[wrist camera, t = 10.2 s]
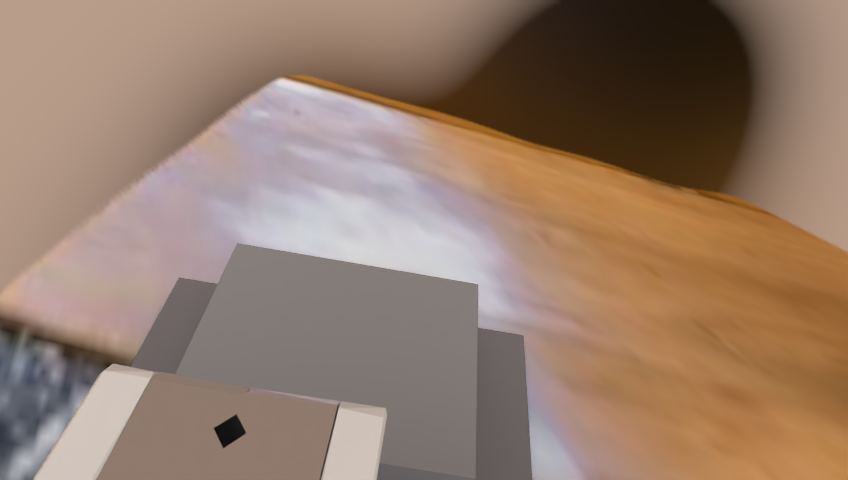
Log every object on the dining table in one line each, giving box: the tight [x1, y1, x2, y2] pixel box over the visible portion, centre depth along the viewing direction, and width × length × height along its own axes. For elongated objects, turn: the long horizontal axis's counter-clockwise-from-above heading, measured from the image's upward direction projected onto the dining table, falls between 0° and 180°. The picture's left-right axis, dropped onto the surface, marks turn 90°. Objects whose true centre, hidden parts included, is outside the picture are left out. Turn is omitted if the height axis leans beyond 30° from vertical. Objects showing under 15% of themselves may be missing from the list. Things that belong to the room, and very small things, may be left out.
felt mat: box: [130, 278, 532, 480], centre depth 34 cm, size 18×18×1 cm
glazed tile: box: [176, 243, 478, 480], centre depth 35 cm, size 12×3×12 cm
